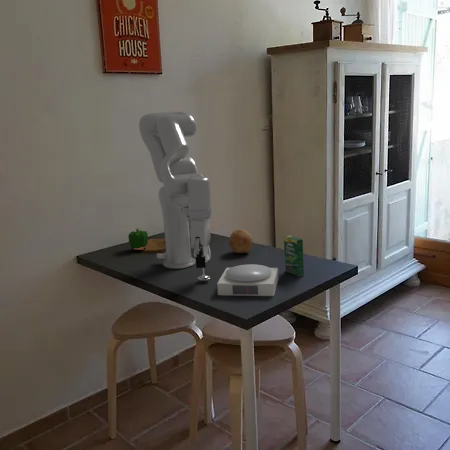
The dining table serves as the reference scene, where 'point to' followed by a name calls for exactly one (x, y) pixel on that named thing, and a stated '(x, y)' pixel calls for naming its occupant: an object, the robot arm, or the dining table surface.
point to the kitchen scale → (248, 281)
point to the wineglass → (207, 257)
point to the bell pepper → (138, 239)
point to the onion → (240, 241)
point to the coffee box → (294, 255)
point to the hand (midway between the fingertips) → (203, 264)
